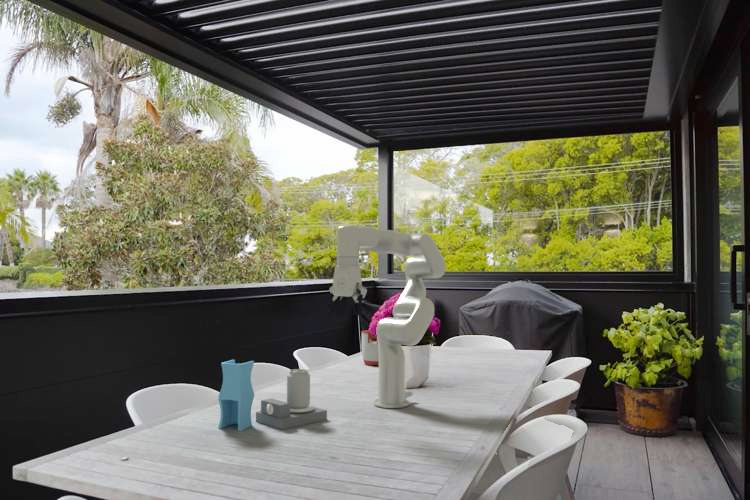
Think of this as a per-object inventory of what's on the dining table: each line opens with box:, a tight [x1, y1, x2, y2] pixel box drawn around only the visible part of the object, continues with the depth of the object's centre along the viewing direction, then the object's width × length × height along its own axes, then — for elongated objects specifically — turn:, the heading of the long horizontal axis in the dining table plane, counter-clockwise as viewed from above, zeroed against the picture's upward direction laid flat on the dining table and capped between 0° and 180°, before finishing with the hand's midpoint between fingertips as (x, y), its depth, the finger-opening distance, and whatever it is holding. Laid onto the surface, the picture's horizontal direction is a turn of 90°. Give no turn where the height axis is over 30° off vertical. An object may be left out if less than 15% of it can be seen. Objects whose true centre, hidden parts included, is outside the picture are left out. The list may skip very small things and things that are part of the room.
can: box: [286, 368, 311, 409], centre depth 199 cm, size 8×8×12 cm
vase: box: [217, 359, 255, 432], centre depth 189 cm, size 8×8×20 cm
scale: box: [255, 398, 328, 430], centre depth 197 cm, size 18×14×7 cm
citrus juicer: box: [360, 329, 379, 366], centre depth 313 cm, size 16×17×20 cm
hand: (347, 313), depth 203 cm, fingers open, 9 cm apart
